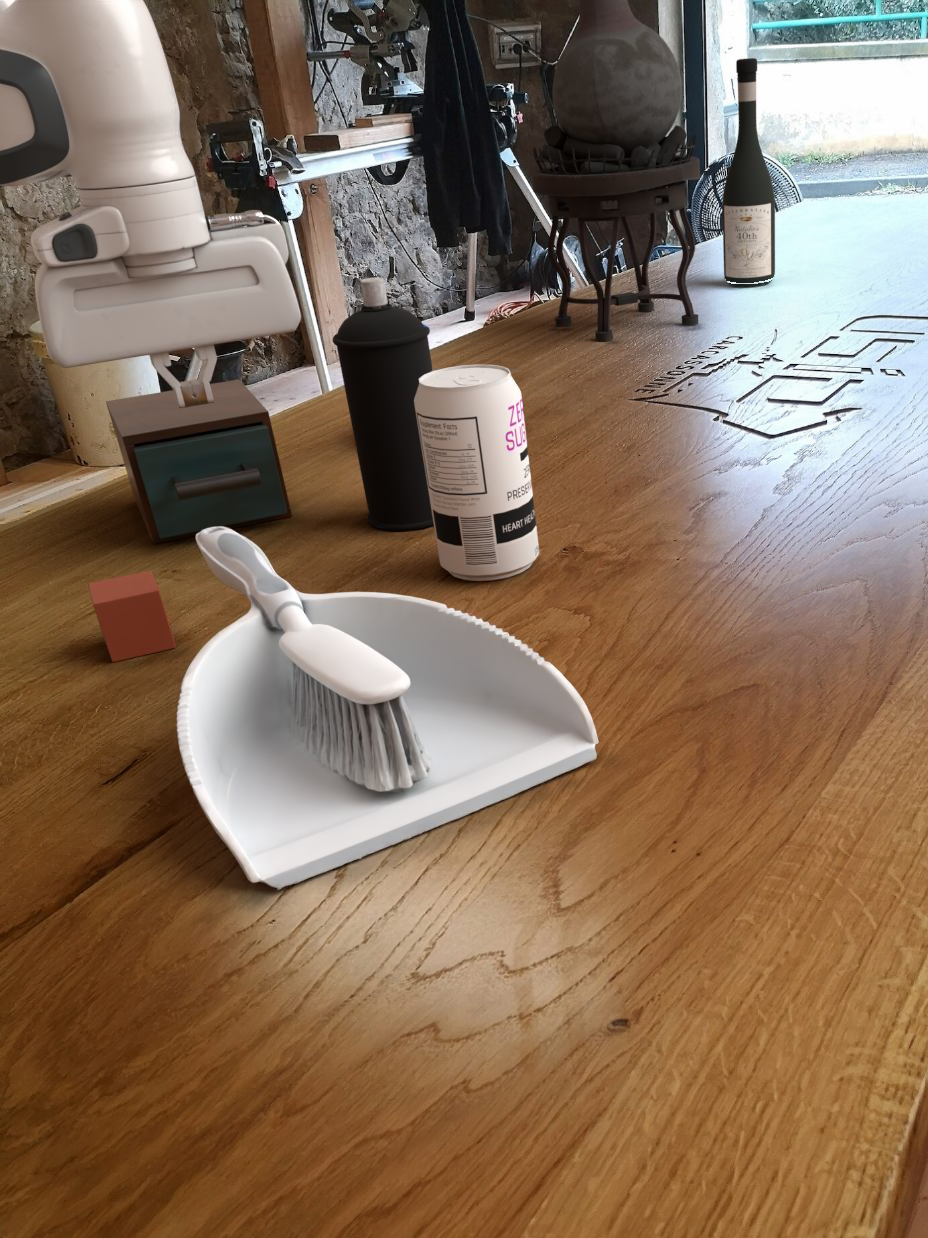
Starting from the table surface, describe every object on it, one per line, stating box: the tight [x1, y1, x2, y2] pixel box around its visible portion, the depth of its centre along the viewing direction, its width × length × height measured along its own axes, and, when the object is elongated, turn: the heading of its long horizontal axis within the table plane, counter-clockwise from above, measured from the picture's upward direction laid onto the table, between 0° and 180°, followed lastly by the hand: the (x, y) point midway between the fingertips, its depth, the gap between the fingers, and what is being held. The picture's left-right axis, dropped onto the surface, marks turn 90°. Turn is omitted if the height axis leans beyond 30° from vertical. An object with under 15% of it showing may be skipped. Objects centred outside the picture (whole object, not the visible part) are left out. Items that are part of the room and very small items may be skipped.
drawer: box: [133, 423, 287, 539], centre depth 113 cm, size 18×11×8 cm, turn 25°
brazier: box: [531, 0, 701, 342], centre depth 165 cm, size 22×22×45 cm
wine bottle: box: [721, 57, 776, 288], centre depth 188 cm, size 8×8×30 cm
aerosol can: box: [331, 276, 434, 532], centre depth 108 cm, size 8×8×20 cm
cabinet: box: [105, 379, 293, 545], centre depth 117 cm, size 15×13×10 cm
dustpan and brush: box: [176, 526, 600, 891], centre depth 79 cm, size 23×33×10 cm
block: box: [87, 570, 177, 663], centre depth 92 cm, size 5×5×5 cm
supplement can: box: [414, 363, 540, 582], centre depth 98 cm, size 8×8×15 cm
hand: (195, 404), depth 105 cm, fingers closed
